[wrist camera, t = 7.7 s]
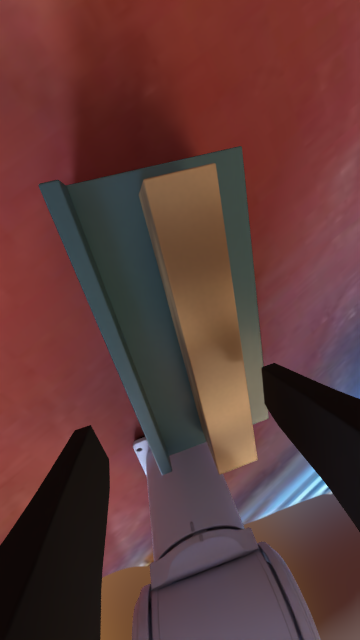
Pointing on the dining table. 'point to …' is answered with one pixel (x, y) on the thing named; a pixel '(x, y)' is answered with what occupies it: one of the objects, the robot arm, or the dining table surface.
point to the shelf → (154, 293)
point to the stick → (202, 305)
